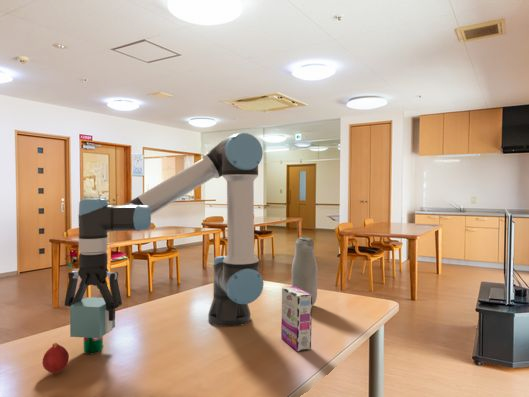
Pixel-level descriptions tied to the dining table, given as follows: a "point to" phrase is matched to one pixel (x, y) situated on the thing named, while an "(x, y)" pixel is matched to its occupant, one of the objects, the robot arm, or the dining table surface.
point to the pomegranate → (55, 359)
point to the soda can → (93, 345)
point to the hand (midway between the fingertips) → (93, 330)
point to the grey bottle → (305, 267)
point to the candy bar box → (296, 318)
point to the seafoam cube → (88, 318)
